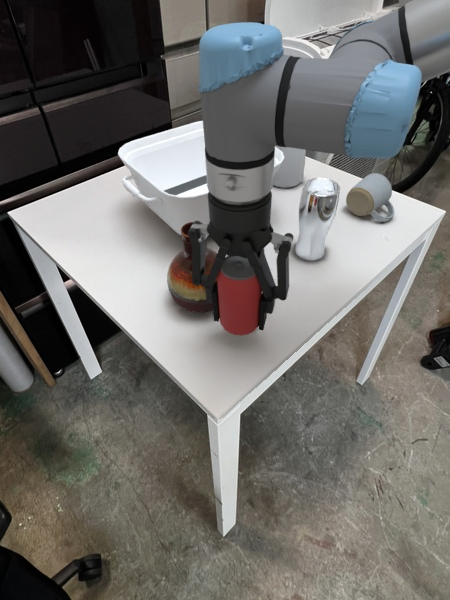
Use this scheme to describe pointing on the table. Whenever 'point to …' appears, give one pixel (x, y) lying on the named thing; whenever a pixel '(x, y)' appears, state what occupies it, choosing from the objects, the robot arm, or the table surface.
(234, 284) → the beer can
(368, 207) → the ceramic mug
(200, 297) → the vase
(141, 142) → the white wash basin
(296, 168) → the soap bottle
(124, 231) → the table surface
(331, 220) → the beer glass
